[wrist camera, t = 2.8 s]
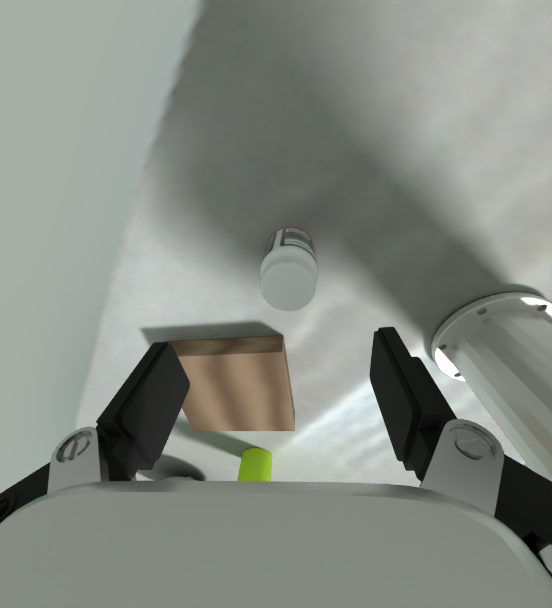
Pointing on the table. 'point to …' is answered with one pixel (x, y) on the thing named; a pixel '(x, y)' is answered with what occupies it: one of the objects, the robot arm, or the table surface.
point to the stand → (237, 384)
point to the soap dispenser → (255, 465)
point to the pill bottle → (289, 270)
